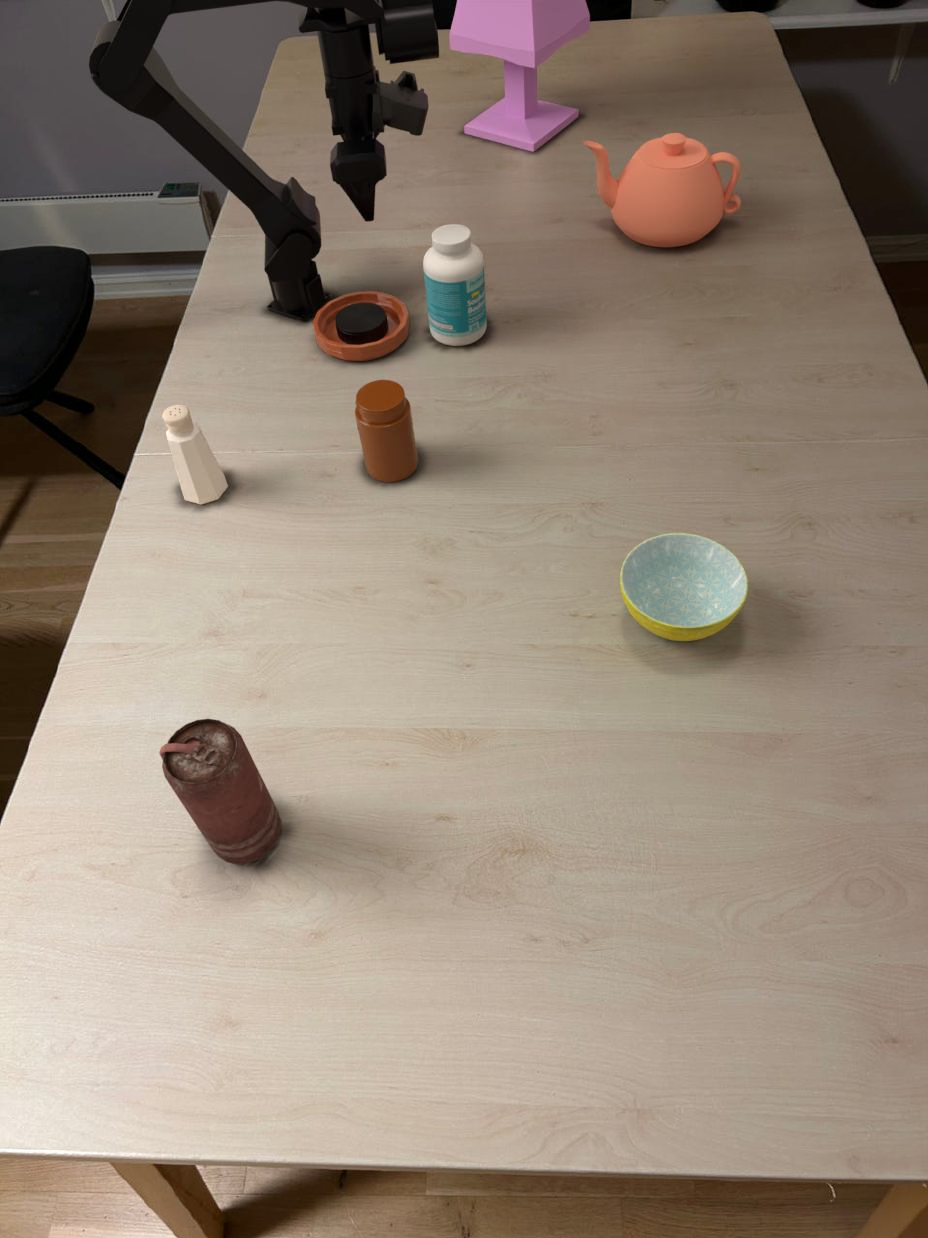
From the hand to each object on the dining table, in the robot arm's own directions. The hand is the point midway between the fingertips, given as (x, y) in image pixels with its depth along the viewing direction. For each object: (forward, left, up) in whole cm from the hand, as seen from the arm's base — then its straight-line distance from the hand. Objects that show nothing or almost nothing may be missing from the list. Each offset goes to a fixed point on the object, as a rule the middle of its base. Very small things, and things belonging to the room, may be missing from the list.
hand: (369, 201), depth 117 cm
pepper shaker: (+3, -41, -13) cm, 43 cm away
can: (+34, -72, -13) cm, 81 cm away
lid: (+3, -9, -11) cm, 14 cm away
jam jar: (+20, -28, -13) cm, 37 cm away
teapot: (+27, +31, -13) cm, 43 cm away
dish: (+3, -9, -13) cm, 16 cm away
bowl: (+57, -34, -13) cm, 68 cm away
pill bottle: (+14, -3, -13) cm, 19 cm away
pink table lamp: (-6, +51, -13) cm, 53 cm away
